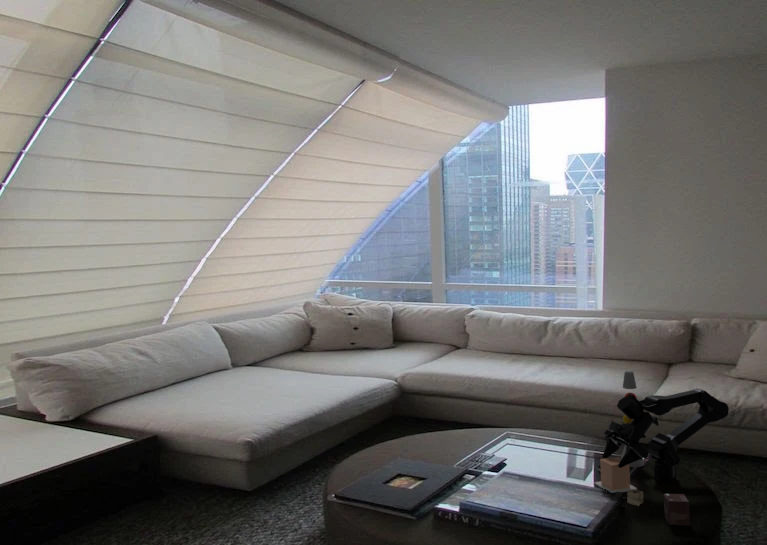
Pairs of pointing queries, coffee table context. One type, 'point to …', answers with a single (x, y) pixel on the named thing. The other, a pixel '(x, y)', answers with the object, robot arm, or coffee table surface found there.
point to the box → (676, 509)
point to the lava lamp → (627, 384)
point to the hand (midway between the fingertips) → (611, 462)
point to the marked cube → (635, 497)
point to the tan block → (614, 474)
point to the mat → (617, 489)
